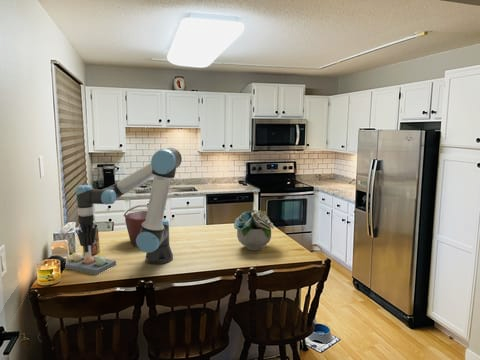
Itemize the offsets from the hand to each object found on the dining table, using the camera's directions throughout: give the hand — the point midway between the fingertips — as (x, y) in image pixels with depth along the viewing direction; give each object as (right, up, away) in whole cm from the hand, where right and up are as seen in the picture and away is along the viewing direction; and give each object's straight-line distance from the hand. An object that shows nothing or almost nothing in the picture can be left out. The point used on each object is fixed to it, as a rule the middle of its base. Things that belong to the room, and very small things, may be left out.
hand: (88, 257), depth 190 cm
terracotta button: (0, -4, +1) cm, 4 cm away
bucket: (+20, +1, +39) cm, 44 cm away
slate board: (0, -5, +1) cm, 5 cm away
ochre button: (-7, -3, +3) cm, 9 cm away
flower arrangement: (+90, -1, +29) cm, 95 cm away
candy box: (-6, -3, +18) cm, 19 cm away
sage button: (+8, -4, -2) cm, 9 cm away
